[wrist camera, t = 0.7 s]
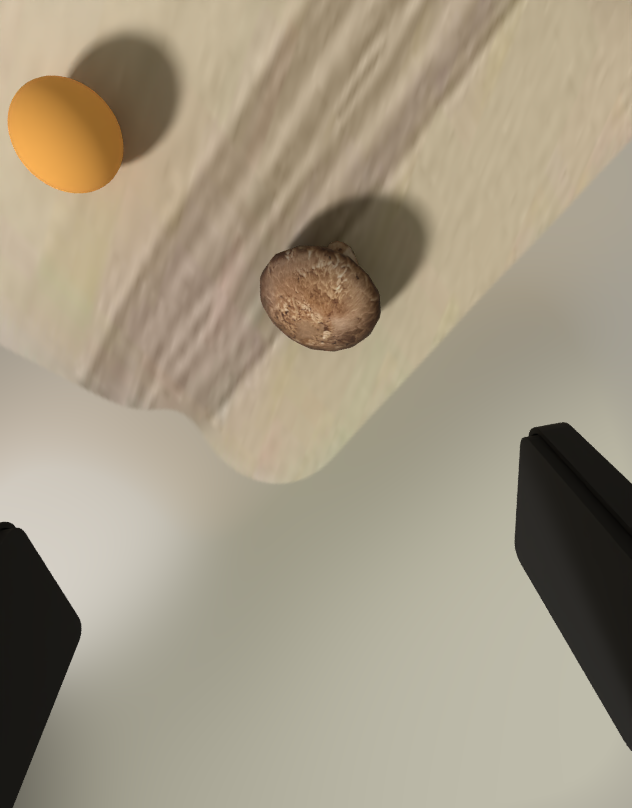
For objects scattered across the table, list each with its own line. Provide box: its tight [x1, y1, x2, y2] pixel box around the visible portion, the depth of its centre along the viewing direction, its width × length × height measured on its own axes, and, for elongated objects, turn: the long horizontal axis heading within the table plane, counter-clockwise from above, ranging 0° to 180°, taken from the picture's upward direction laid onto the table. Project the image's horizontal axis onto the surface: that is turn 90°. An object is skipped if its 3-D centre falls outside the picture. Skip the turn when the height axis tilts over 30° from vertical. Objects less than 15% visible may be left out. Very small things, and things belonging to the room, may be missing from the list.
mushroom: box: [260, 241, 381, 351], centre depth 31 cm, size 8×8×6 cm
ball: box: [8, 76, 123, 193], centre depth 26 cm, size 6×6×6 cm
